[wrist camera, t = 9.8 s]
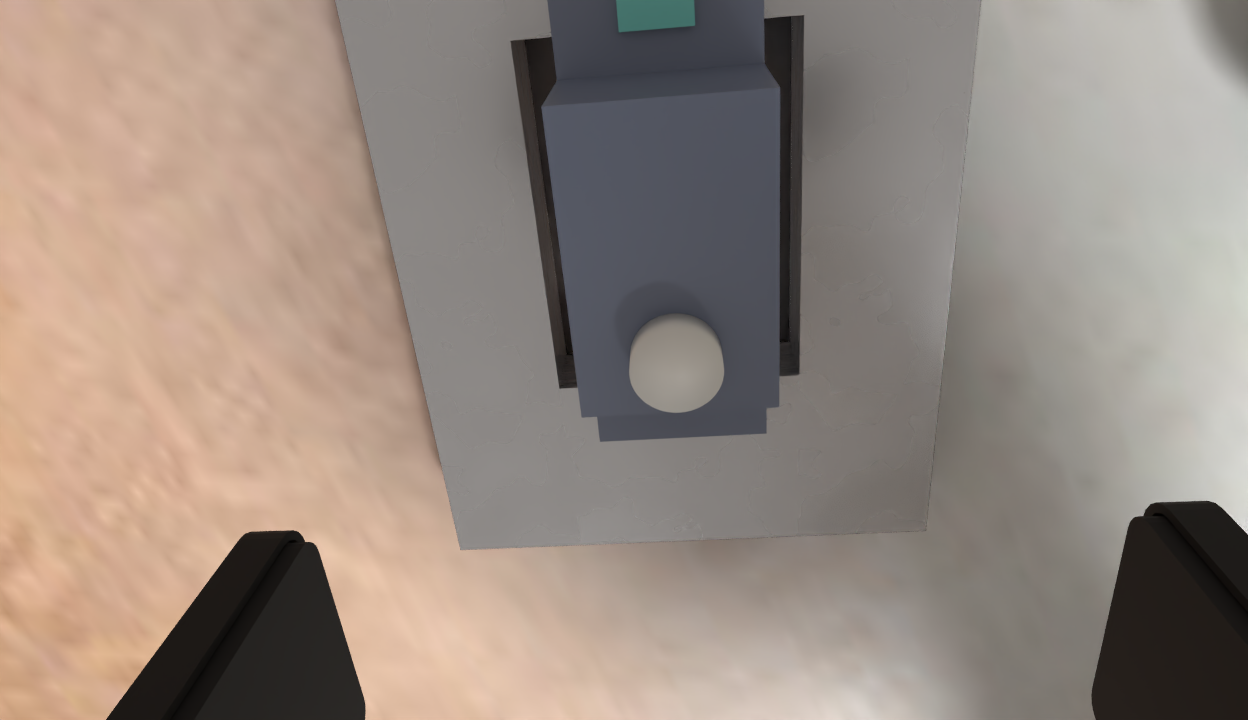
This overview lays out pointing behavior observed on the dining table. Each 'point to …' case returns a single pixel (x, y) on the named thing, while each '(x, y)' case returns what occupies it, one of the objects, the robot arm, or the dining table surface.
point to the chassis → (819, 279)
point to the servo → (667, 213)
